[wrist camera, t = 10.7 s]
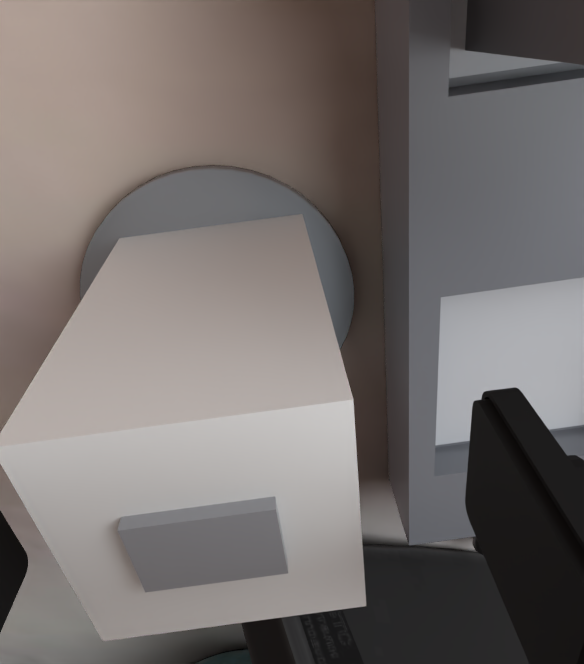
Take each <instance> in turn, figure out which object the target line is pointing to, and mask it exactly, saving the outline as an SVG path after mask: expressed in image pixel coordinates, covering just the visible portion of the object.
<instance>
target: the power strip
mask: <svg viewBox="0 0 584 664" xmlns="http://www.w3.org/2000/svg"><path fill="white" fill-rule="evenodd" d="M466 20H467V0H375V23H376V57H377V91H378V125H379V158H380V192H381V226H382V260H383V294H384V327H385V361H386V395H387V429H388V462H389V481H390V485H391V488H392V491H393V495H394V498H395V501H396V504H397V508H398V511H399V514H400V518H401V521H402V524H403V527H404V531H405V534H406V537H407V541H408V544H409V546H410V545H417V544H425V543H432V542H439V541H446V540H453V539H461V538H468V537H473V546H474V548H475V550H476V551H477V552H478V553H480V554H481V555H483V552H482V550H481V547H480V545H479V543H478V540H477V538H476V535H475V533H474V531H473V528H472V526H471V524H470V521H469V518H468V515H467V511H466V506H465V494H466V481H467V468H468V455H469V443H470V430H471V417H472V406H473V402H474V401H475V400H481V398H482V394H483V392H485V391H490V390H498V389H506V388H514V387H516V388H518V389H519V390H520V391H521V392H522V393H523V394H524V396H525V397H526V399H527V400H528V401H529V403H530V404H531V406H532V407H533V408H534V410H535V411H536V413H537V414H538V415H539V417H540V418H541V420H542V421H543V422H544V424H545V425H546V427H547V428H548V429H549V431H550V432H551V434H552V435H553V436H554V438H555V439H556V441H557V442H558V443H559V445H560V446H561V448H562V449H563V450H564V452H565V453H566V455H567V456H568V455H576V456H578V457H580V458H582V459H583V460H584V65H580V64H572V63H564V62H556V61H548V60H540V59H531V58H523V57H515V56H507V55H499V54H490V53H482V52H474V51H466V50H465V40H466Z"/></svg>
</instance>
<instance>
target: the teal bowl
mask: <svg viewBox="0 0 584 664" xmlns="http://www.w3.org/2000/svg"><path fill="white" fill-rule="evenodd" d="M196 664H252V662H251V658H250V654H249V650H248V649H247V650H238V651H230V652H226V653H222V654H218V655H215V656H212V657H209V658H207V659H204V660H202V661H200V662H198V663H196Z"/></svg>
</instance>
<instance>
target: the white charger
mask: <svg viewBox="0 0 584 664" xmlns="http://www.w3.org/2000/svg"><path fill="white" fill-rule="evenodd" d="M0 464H1V466H2V467H3V469H4V471H5V473H6V474H7V476H8V478H9V480H10V481H11V483H12V485H13V486H14V488H15V490H16V492H17V493H18V495H19V497H20V499H21V500H22V502H23V504H24V506H25V507H26V509H27V511H28V512H29V514H30V516H31V518H32V519H33V521H34V523H35V525H36V526H37V528H38V530H39V532H40V533H41V535H42V537H43V538H44V540H45V542H46V544H47V545H48V547H49V549H50V551H51V552H52V554H53V556H54V558H55V559H56V561H57V563H58V565H59V566H60V568H61V570H62V571H63V573H64V575H65V577H66V578H67V580H68V582H69V584H70V585H71V587H72V589H73V591H74V592H75V594H76V596H77V597H78V599H79V601H80V603H81V604H82V606H83V608H84V610H85V611H86V613H87V615H88V617H89V618H90V620H91V622H92V623H93V625H94V627H95V629H96V630H97V632H98V634H99V636H100V637H101V639H102V641H110V640H117V639H125V638H132V637H139V636H147V635H154V634H162V633H169V632H177V631H184V630H192V629H199V628H207V627H214V626H222V625H229V624H236V623H244V622H251V621H259V620H266V619H274V618H281V617H289V616H296V615H304V614H311V613H318V612H326V611H333V610H341V609H348V608H356V607H363V606H366V592H365V576H364V560H363V544H362V528H361V512H360V497H359V481H358V465H357V449H356V433H355V418H354V402H353V396H352V393H351V389H350V385H349V382H348V378H347V375H346V371H345V367H344V364H343V360H342V356H341V353H340V349H339V345H338V342H337V338H336V335H335V331H334V327H333V324H332V320H331V316H330V313H329V309H328V305H327V302H326V298H325V294H324V291H323V287H322V284H321V280H320V276H319V273H318V269H317V265H316V262H315V258H314V254H313V251H312V247H311V244H310V240H309V236H308V233H307V229H306V225H305V222H304V218H303V214H298V215H290V216H283V217H275V218H268V219H260V220H253V221H245V222H238V223H230V224H223V225H215V226H207V227H200V228H192V229H185V230H177V231H170V232H162V233H155V234H147V235H140V236H132V237H125V238H119V240H118V241H117V243H116V245H115V246H114V248H113V250H112V251H111V253H110V254H109V256H108V258H107V259H106V261H105V263H104V264H103V266H102V268H101V269H100V271H99V272H98V274H97V276H96V277H95V279H94V281H93V282H92V284H91V285H90V287H89V289H88V290H87V292H86V294H85V295H84V297H83V299H82V300H81V302H80V303H79V305H78V307H77V308H76V310H75V312H74V313H73V315H72V317H71V318H70V320H69V321H68V323H67V325H66V326H65V328H64V330H63V331H62V333H61V335H60V336H59V338H58V339H57V341H56V343H55V344H54V346H53V348H52V349H51V351H50V353H49V354H48V356H47V357H46V359H45V361H44V362H43V364H42V366H41V367H40V369H39V371H38V372H37V374H36V375H35V377H34V379H33V380H32V382H31V384H30V385H29V387H28V389H27V390H26V392H25V393H24V395H23V397H22V398H21V400H20V402H19V403H18V405H17V407H16V408H15V410H14V411H13V413H12V415H11V416H10V418H9V420H8V421H7V423H6V425H5V426H4V428H3V429H2V431H1V433H0Z"/></svg>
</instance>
